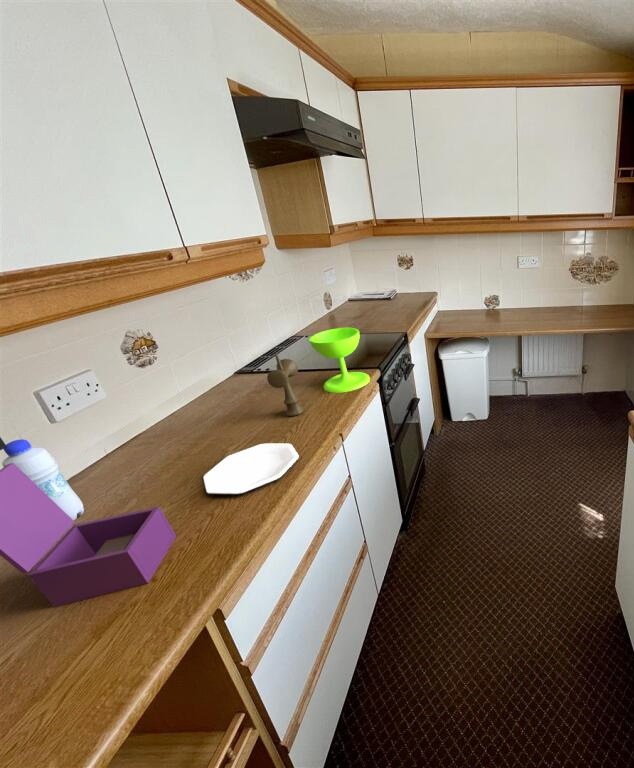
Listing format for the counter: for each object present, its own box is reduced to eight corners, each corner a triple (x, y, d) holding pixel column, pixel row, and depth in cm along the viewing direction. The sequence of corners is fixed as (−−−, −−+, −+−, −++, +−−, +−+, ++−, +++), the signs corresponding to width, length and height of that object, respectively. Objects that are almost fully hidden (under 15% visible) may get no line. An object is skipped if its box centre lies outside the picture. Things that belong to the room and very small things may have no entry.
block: (133, 569, 74) (122, 552, 72) (104, 577, 73) (91, 559, 71) (146, 551, 78) (135, 533, 76) (118, 557, 76) (106, 540, 75)
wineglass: (355, 393, 137) (343, 343, 129) (313, 392, 140) (298, 343, 132) (378, 373, 151) (367, 327, 143) (339, 373, 154) (327, 327, 146)
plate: (202, 470, 102) (200, 465, 101) (287, 439, 113) (285, 434, 112) (212, 511, 88) (209, 505, 87) (307, 471, 99) (305, 466, 98)
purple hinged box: (176, 536, 82) (159, 506, 78) (148, 583, 72) (127, 551, 68) (95, 554, 79) (74, 524, 75) (54, 607, 68) (27, 575, 65)
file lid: (13, 462, 68) (7, 464, 68) (-50, 508, 58) (-57, 510, 58) (75, 521, 75) (70, 523, 75) (28, 572, 65) (23, 574, 65)
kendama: (310, 404, 131) (292, 346, 123) (301, 419, 123) (281, 358, 114) (290, 407, 130) (271, 349, 122) (280, 422, 122) (258, 360, 113)
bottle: (38, 527, 87) (-21, 449, 78) (76, 505, 92) (25, 430, 84) (58, 532, 85) (0, 453, 76) (96, 510, 90) (46, 434, 82)
